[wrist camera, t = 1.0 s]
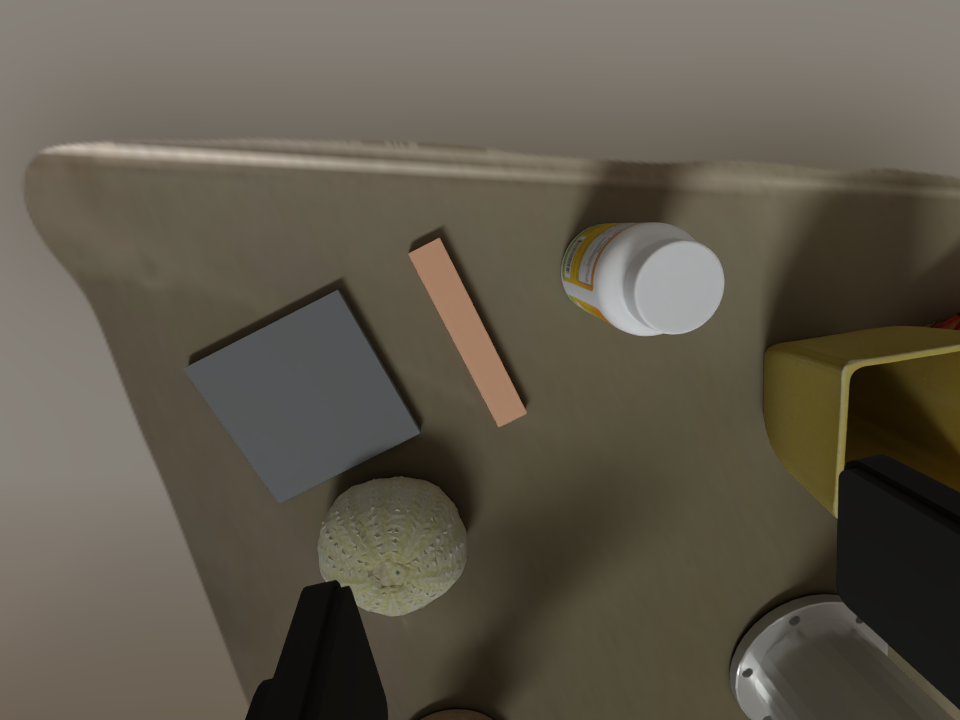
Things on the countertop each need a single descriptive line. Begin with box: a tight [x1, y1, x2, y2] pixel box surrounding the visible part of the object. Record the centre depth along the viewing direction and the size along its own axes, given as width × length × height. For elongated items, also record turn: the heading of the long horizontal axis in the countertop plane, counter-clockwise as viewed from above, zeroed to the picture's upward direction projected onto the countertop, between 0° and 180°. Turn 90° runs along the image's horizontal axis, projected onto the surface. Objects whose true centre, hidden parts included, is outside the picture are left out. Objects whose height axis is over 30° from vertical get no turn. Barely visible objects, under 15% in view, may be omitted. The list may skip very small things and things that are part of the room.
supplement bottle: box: [561, 222, 724, 336], centre depth 26 cm, size 5×5×10 cm
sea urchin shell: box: [317, 476, 468, 617], centre depth 32 cm, size 9×8×8 cm
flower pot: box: [763, 326, 960, 519], centre depth 29 cm, size 9×9×9 cm
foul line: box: [408, 238, 527, 427], centre depth 30 cm, size 12×2×1 cm, turn 26°
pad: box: [184, 289, 421, 504], centre depth 30 cm, size 10×10×1 cm
